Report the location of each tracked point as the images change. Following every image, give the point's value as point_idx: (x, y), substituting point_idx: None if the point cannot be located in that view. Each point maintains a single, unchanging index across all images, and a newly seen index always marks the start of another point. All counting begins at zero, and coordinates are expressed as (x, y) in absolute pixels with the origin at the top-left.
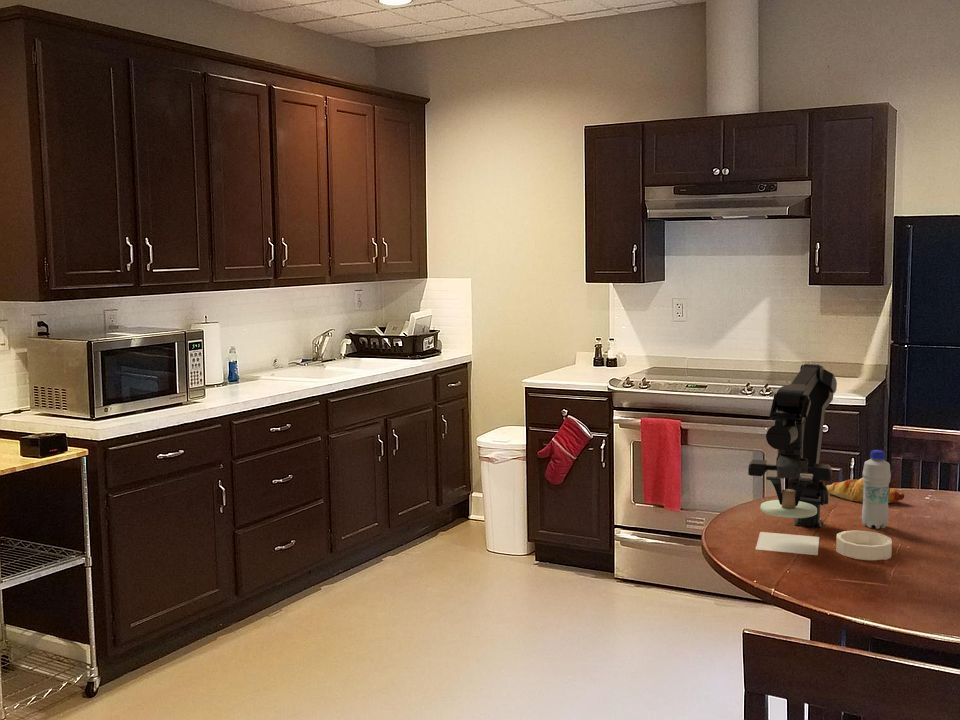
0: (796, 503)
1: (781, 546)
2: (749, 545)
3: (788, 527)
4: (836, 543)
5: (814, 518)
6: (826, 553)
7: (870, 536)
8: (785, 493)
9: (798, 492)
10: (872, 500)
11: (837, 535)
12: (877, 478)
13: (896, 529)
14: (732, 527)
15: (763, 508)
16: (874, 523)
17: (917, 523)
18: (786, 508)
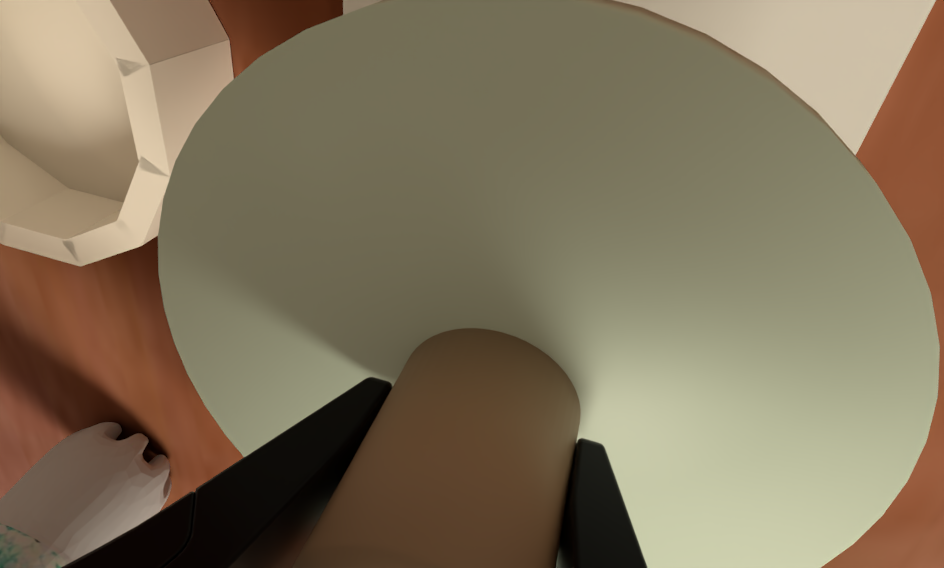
0: (366, 398)
1: None
2: (926, 154)
3: None
4: (182, 54)
5: None
6: (290, 5)
7: (15, 205)
8: (488, 563)
9: (229, 524)
10: (7, 550)
11: (158, 140)
12: None
13: (54, 418)
14: (883, 527)
15: (926, 363)
16: (99, 441)
17: (15, 468)
18: (526, 343)
